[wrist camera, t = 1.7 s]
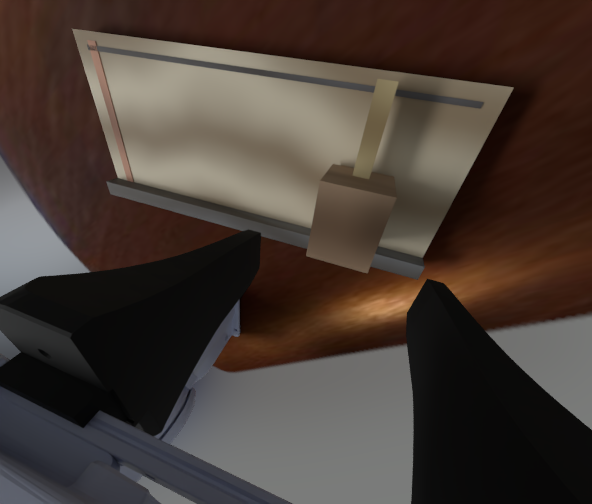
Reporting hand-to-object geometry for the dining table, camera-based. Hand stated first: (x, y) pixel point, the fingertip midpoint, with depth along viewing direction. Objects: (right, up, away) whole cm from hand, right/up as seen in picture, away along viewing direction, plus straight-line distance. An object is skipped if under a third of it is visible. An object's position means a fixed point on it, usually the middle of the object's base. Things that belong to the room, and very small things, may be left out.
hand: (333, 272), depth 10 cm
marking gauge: (+3, +6, +5) cm, 8 cm away
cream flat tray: (-4, +9, +8) cm, 13 cm away
